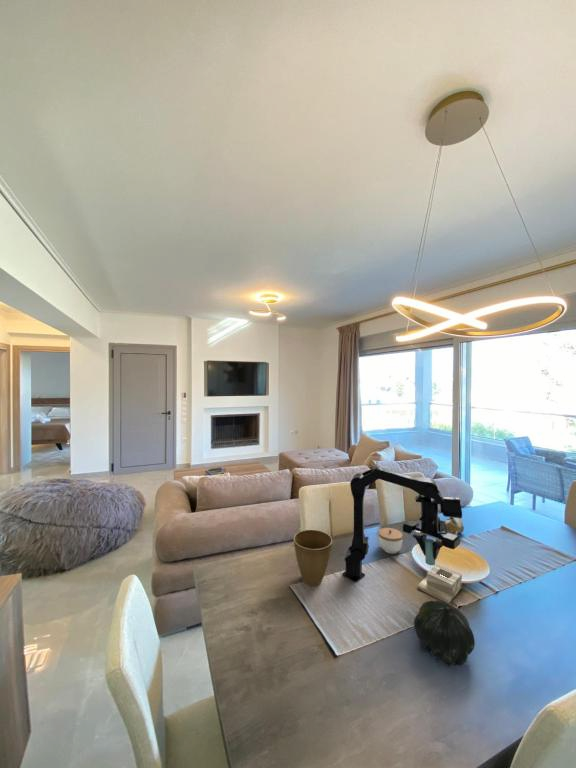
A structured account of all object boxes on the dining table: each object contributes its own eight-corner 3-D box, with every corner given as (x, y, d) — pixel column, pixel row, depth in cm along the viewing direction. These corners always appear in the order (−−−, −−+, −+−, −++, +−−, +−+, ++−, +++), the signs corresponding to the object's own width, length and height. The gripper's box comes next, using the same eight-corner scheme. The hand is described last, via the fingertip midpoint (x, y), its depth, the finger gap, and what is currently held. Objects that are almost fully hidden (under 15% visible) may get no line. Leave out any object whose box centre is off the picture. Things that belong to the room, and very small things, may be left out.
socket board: (448, 603, 107) (448, 589, 107) (417, 588, 115) (417, 574, 115) (461, 587, 116) (461, 574, 116) (431, 574, 124) (431, 561, 124)
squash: (426, 601, 101) (417, 582, 93) (479, 625, 91) (475, 607, 83) (414, 651, 93) (404, 635, 85) (472, 684, 83) (466, 669, 75)
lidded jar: (406, 556, 136) (406, 535, 136) (381, 556, 137) (381, 535, 137) (398, 544, 147) (398, 524, 147) (375, 543, 147) (375, 524, 147)
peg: (432, 566, 111) (432, 543, 111) (424, 562, 114) (423, 540, 114) (436, 562, 113) (436, 540, 113) (427, 559, 116) (427, 537, 116)
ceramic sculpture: (469, 517, 156) (451, 526, 149) (470, 534, 156) (452, 543, 149) (449, 510, 165) (431, 517, 158) (450, 526, 165) (432, 534, 158)
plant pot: (286, 585, 117) (286, 542, 117) (303, 564, 130) (303, 526, 130) (323, 597, 110) (323, 552, 110) (337, 574, 123) (337, 534, 123)
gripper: (465, 515, 112) (466, 559, 112) (415, 501, 126) (416, 540, 126) (453, 525, 105) (454, 571, 104) (401, 509, 119) (402, 550, 118)
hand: (430, 557), depth 113 cm, fingers closed on peg, 3 cm apart
